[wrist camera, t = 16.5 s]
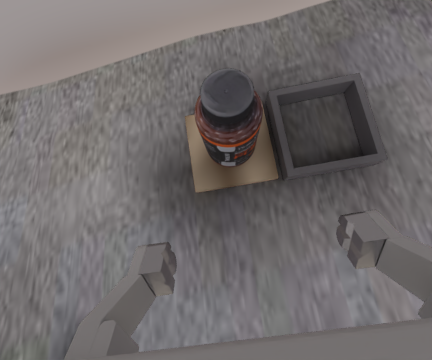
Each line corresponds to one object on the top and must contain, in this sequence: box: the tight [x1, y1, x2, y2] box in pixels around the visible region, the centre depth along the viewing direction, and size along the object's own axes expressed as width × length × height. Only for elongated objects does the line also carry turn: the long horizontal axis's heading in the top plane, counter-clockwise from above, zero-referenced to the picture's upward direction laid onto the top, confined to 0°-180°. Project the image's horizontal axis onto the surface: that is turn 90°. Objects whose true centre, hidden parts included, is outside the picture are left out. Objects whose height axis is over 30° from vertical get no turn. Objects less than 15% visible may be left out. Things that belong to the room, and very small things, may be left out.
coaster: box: [185, 101, 279, 193], centre depth 27 cm, size 10×10×1 cm
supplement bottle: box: [195, 68, 263, 167], centre depth 21 cm, size 6×6×11 cm
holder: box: [266, 73, 388, 181], centre depth 26 cm, size 11×11×2 cm
